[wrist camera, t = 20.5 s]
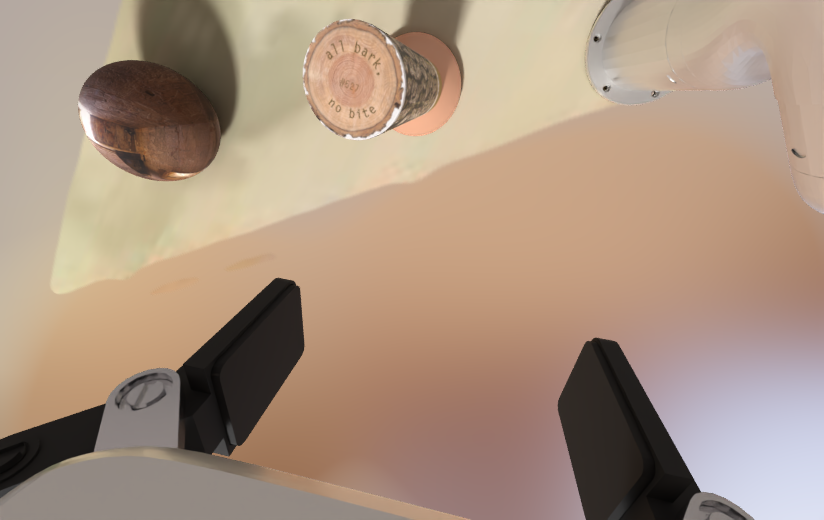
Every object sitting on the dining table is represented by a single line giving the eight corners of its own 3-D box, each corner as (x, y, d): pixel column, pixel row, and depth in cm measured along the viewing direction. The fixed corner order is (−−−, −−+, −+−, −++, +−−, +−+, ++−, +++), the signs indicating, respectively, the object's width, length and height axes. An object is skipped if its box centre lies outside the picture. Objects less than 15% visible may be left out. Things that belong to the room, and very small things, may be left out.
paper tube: (401, 47, 41) (314, -2, 19) (451, 69, 41) (421, 46, 19) (384, 103, 44) (294, 116, 22) (430, 123, 44) (385, 156, 22)
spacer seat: (468, 37, 40) (468, 36, 39) (453, 140, 46) (452, 141, 45) (374, 28, 41) (372, 27, 40) (370, 129, 47) (368, 130, 46)
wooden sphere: (138, 64, 49) (14, 55, 35) (228, 64, 46) (130, 53, 33) (172, 167, 55) (78, 190, 42) (252, 171, 53) (178, 196, 40)
